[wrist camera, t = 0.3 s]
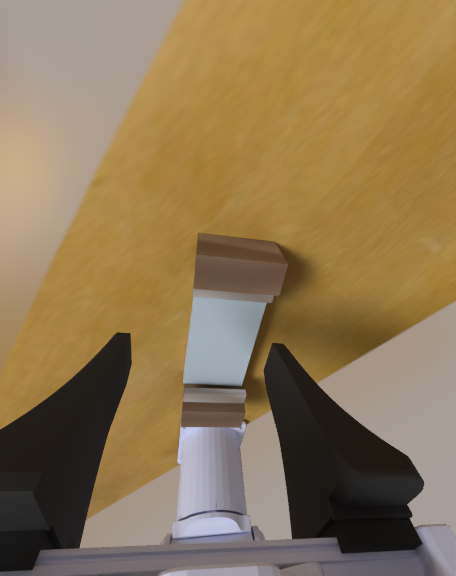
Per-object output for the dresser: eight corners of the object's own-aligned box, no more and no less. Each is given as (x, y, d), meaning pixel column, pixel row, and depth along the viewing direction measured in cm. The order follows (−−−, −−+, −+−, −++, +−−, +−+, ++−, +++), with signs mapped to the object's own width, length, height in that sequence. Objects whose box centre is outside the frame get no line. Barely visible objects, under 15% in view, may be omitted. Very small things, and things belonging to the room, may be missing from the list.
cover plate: (239, 371, 29) (241, 386, 27) (184, 367, 28) (182, 383, 26) (266, 275, 23) (271, 287, 21) (197, 266, 22) (196, 278, 20)
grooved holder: (236, 393, 30) (240, 427, 26) (183, 392, 29) (180, 426, 26) (274, 241, 21) (288, 264, 17) (198, 233, 20) (196, 254, 16)
